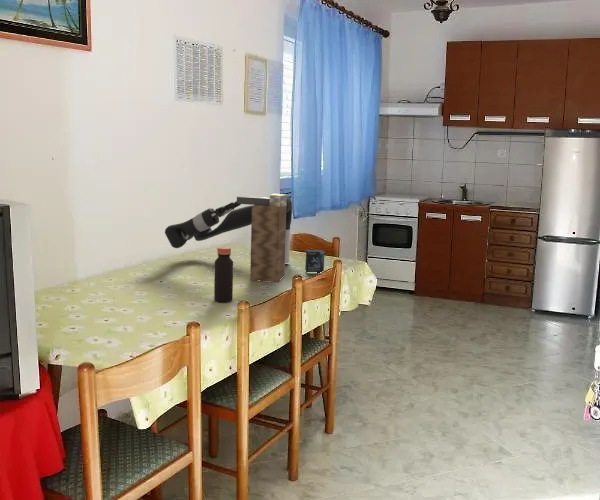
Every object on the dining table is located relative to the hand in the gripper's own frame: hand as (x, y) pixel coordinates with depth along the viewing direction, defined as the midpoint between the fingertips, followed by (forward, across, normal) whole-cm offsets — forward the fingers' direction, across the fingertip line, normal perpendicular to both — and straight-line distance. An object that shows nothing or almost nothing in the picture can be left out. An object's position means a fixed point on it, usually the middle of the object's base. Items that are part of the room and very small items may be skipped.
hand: (236, 203), depth 275 cm
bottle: (-8, -42, +32) cm, 53 cm away
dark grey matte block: (+9, 0, +5) cm, 10 cm away
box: (+11, +18, +44) cm, 49 cm away
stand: (-3, 0, +35) cm, 35 cm away
